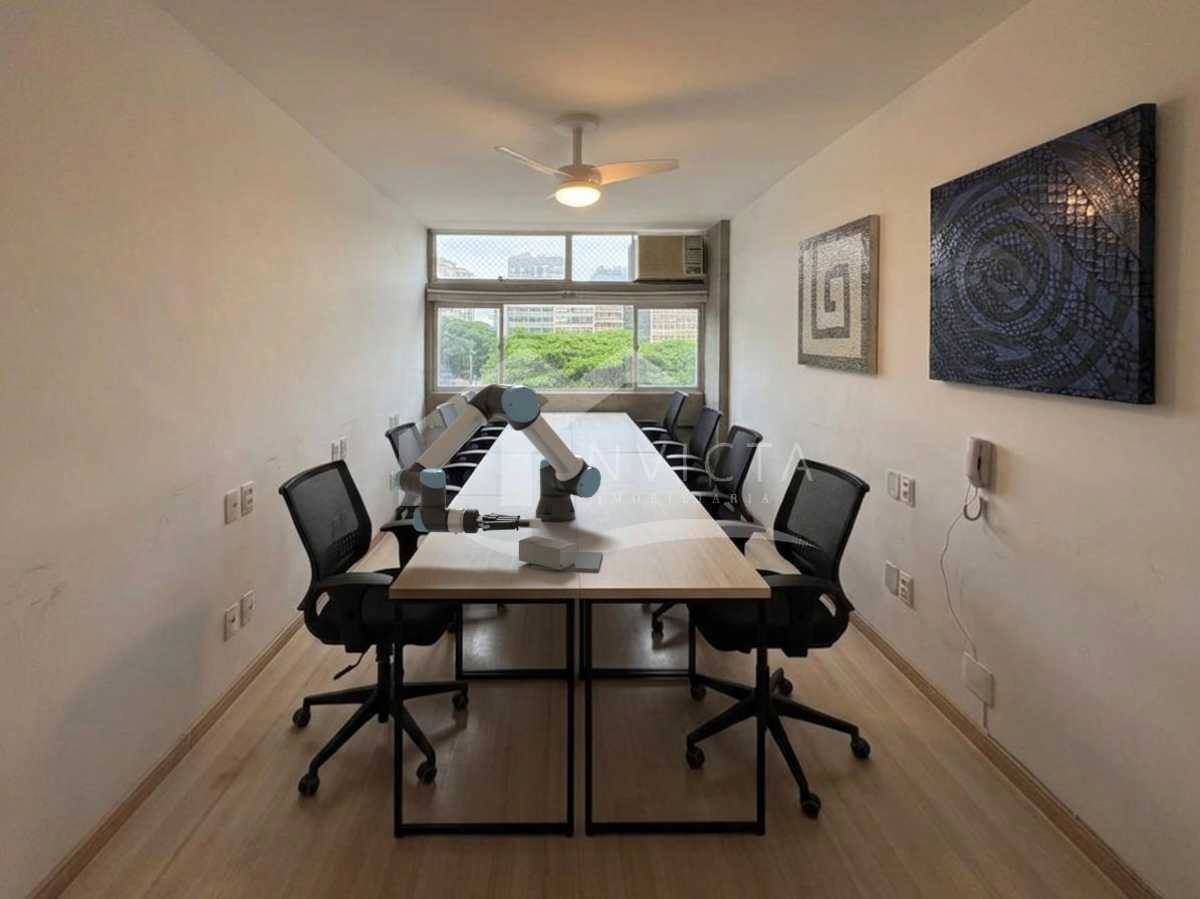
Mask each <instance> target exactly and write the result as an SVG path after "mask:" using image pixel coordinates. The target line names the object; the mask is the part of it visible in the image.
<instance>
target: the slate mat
mask: <svg viewBox="0 0 1200 899" xmlns="http://www.w3.org/2000/svg"><path fill="white" fill-rule="evenodd" d="M602 558H603V552H602V551H601V552H600V551H599V552H597V551H575V564H573V565H570V566H569V567H565V568H562V569H555V568H551V567H546V566H542V565H537V564H533V563H531V565H530V566H531V567H530V569H531V570H537V571H538V570H539V571H561V572H562V571H565V572H566V571H567V572H589V573H591V572H592V573H599V570H600V566H601V562H602V560H603V559H602Z"/></svg>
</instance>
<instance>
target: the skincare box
mask: <svg viewBox="0 0 1200 899" xmlns="http://www.w3.org/2000/svg"><path fill="white" fill-rule="evenodd" d="M576 547H577V546H576V543H573V542H568V541H567V542H566V541H562V540H557V539H552V538H547V537H543V536H538V535H532V536H529V537H525V538H523V539H522V538H521V539H520V540H518V561H520V562H524V563H529V564H537V565H542V566H546V567H551V568H555V569H562V568H565V567H569V566H570V565H573V564H575V551H576V549H577V548H576Z"/></svg>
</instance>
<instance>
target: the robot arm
mask: <svg viewBox="0 0 1200 899" xmlns="http://www.w3.org/2000/svg"><path fill="white" fill-rule="evenodd" d="M539 399H540V398H539V396H538V394H537V392H535V391H534V389H532V388H530V387H528V386H525V385H523V384H512V383H511V384H510V383H502V382H501V383H500V382H499V383H498V382H497V383H496V382H495V383H492V384H489V385H487V386H486V387H484V388H482V389H481V390H480V391H478V392H477V393H476V394H475V395H474V396H472V398H470V400H469V401H467V403H466V404H465V405H464V409H463V410H464V411H462V413H460V415H459V416H458V417H457V418H455V419H454V421H453V422H452V423H451V424H450V425H449V426H448V427H447V428H446V429H445V430H444V431H443V432H442V433H441V434H440V435H439V436H438V437H437V438H436V440H434V442H433V443H432V444H431V445H429V447H428V448H427V449H426V450H425V451H424V452H423V453H422V454H421V455H420V456H419V457H418V459H417V460H416V461H415V462H413V464H411V465H410V466H409V467H404V468H402V469H400V470H398V471H397V473H396V474H395V476H394V482H395V486H396V487H397V488H398V490H400V491H402V492H404V493H405V494H410V495H411V494H412V495H414V496H417V497H419V498H420V506H418V507H416V508H415V510H414V512H413V517H412V523H413V527H414V529H415V530H416V531H417V532H426V533H450V534H451V533H454V535H458V534H462V533H465V534H473V535H474V534H477V533H478V532H479V529H482V531H483V532H488V531H509V530H511V531H514V530H516V531H519V530H520V528H521V529H541V528H542V521H543V522H544V521H545V522H566V521H570V520H573V519H575V518H576V510H575V506H574V503H573V500H572V496H576V497H578V498H581V499H582V498H584V499H588V498H592V497H594V496H595V495H596V494H597V492H598V491H599V488H600V487H601V484H602V482H601V481H602V475H601V472H600V470H599V469H598V468H597V467H595V466H593V465H589V464H588V463H587V462H586V461H585V460H584V458H583V457H582V456H581V455H578V454H574V453H573V451H572V450H570V448H569V447H568V446H567V444H565V442H564V441H563V440H562V439H561V438H560V436H559V435H558V434H557V433H556V431H555V430H554V429H553V428H552V427H551V425H550V424H549V423H548V422H547V421H546V419H545V418H544V416H542V415H541V413H542V408H541V405H540V404H539V403H540V400H539ZM494 419H501V420H502V419H503V420H505V421H506V422H507V424H508V425H509V426H510V427H511V428H512V429H513V430H514V431H516V432H520V431H521V433H522V434H523V435H524V436H525V437H526V438H527V440H529V441H530V444H532V445H533V446H534V447H535V449H537V451H538V452H539V453H540V455H542V456H543V458H542V459H541V460H540V465H539V492H540V493H539V500H538V502H537V505H536V506H537V507H536V509H535V518H533V517H521V515H520V514H518V515H513V514H512V515H511V514H503V513H502V514H501V513H496V512H491V513H484V514H483V515H480V511H479V509H477V508H466V509H465V508H462V507H461V508H458V507H457V508H455V507H454V508H452V507H450V508H449V507H447V499H446V498H447V480H446V473H445V471H444V470H443V469H442V468H443V467H444V466H445V465H446V464H447V462H449V461H450V459H451V458H452V457H453V456H455V454H456V453H457V452H458V451H459V450H460V449H461V448H462V447H463V446H464V444H465V443H466V442H468V440H469V439H470V438H471V437H472V436H473V435H474V434H475V433H476V432H477V430H479V429H480V428H481V426H486V425H487V424H488V423H490V422H491V421H492V420H494ZM571 495H572V496H571Z"/></svg>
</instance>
